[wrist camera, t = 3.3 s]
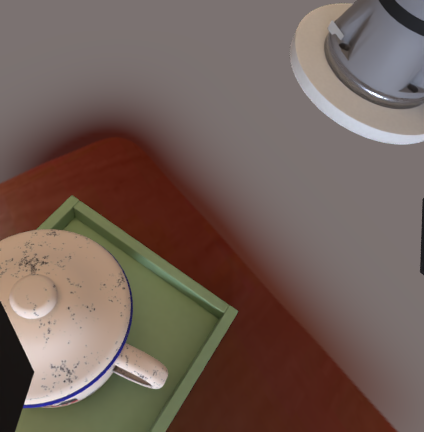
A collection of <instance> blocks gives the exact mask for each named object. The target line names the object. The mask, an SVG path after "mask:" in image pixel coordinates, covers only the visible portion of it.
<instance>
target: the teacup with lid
mask: <svg viewBox="0 0 424 432" xmlns="http://www.w3.org/2000/svg"><path fill="white" fill-rule="evenodd" d="M0 301H1V303H2V305H3V307H4V309H5V311H6V313H7V315H8V317H9V320H10V322H11V324H12V326H13V328H14V330H15V332H16V334H17V336H18V338H19V341H20V343H21V345H22V347H23V349H24V351H25V353H26V355H27V357H28V359H29V362H30V364H31V366H32V368H33V370H34V375H33V378H32V381H31V384H30V387H29V390H28V394H27V397H26V400H25V403H24V406H23V408H36V407H43V408H56V407H63V406H68V405H71V404H74V403H77V402H79V401H81V400H83V399H85V398H87V397H89V396H90V395H92V394H93V393H95V392H96V391H97V390H98V389H99V388H101V387H102V386H103V385H104V384H105V383H106V381H107V380H108V379H109V378H110V376H111V375H112V374H113V372H114V373H116V374H118V375H120V376H122V377H124V378H126V379H128V380H130V381H132V382H135V383H137V384H139V385H142V386H145V387H148V388H152V389H159V388H161V387H162V386H163V385H164V383H165V381H166V379H167V377H168V370H167V368H166V367H165V366H164V365H163V364H162V363H161V362H160V361H158V360H157V359H155V358H154V357H152V356H150V355H148V354H147V353H145V352H143V351H141V350H139V349H137V348H135V347H133V346H131V345H129V344H127V343H126V340H127V337H128V335H129V331H130V327H131V323H132V316H133V299H132V292H131V288H130V284H129V282H128V279H127V276H126V274H125V272H124V270H123V269H122V267H121V265H120V264H119V263H118V261H117V260H116V259H115V257H114V256H113V255H112V254H111V253H110V252H109V251H107V250H106V249H105V248H104V247H102V246H101V245H100V244H98V243H97V242H95V241H93V240H91V239H89V238H87V237H85V236H83V235H80V234H77V233H74V232H69V231H64V230H56V229H41V230H33V231H27V232H23V233H19V234H16V235H13V236H10V237H8V238H6V239H3V240H1V241H0Z"/></svg>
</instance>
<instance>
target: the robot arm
mask: <svg viewBox="0 0 424 432" xmlns="http://www.w3.org/2000/svg"><path fill="white" fill-rule="evenodd" d="M327 29H328V30H329V33H328V35H327V37H326V39H325V43H324V52H325V57H326V60H327V62H328V64H329V66H330V68H331V70H332V71H333V73H334V74H335V75H336V77H337V78H338V79H339V80H340V81H341V82H342V83H343V84H344V85H345V86H346V87H347V88H348V89H350V90H351V91H352V92H354V93H355V94H357V95H358V96H360V97H362V98H363V99H365V100H367V101H369V102H372V103H374V104H377V105H379V106H383V107H386V108H392V109H411V108H415V107H418V106H420V105H422V104H423V103H424V0H357V1H356V2H355V3H354V4H353V5H351V6H350V7H349V8H348V9H347V10H346V11H345V12H344V13H343V14H342V15H341V16H340V17H339V18H338V19H337V20H336V21H335V22H333V20H332V21H331V23H330V25H329V27H328V28H327ZM422 208H423V209H422V237H421V239H422V240H421V267H420V272H421V273H422V274H423V275H424V198H423V207H422ZM33 375H34V370H33V368H32V366H31V364H30V362H29V359H28V357H27V355H26V353H25V351H24V349H23V347H22V345H21V343H20V341H19V338H18V336H17V334H16V332H15V330H14V328H13V326H12V324H11V322H10V320H9V317H8V315H7V313H6V311H5V309H4V307H3V305H2V303H1V301H0V432H15V430H16V427H17V424H18V421H19V418H20V415H21V412H22V409H23V406H24V403H25V400H26V397H27V394H28V390H29V387H30V384H31V381H32V378H33Z"/></svg>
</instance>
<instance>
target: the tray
mask: <svg viewBox="0 0 424 432" xmlns="http://www.w3.org/2000/svg"><path fill="white" fill-rule="evenodd" d="M41 229H56V230H64V231H69V232H74V233H77V234H80V235H83V236H85V237H87V238H89V239H91V240H93V241H95V242H97V243H98V244H100V245H101V246H102V247H104V248H105V249H106V250H107V251H109V252H110V253H111V254H112V255H113V256H114V257H115V259H116V260H117V261H118V263H119V264H120V265H121V267H122V269H123V270H124V272H125V274H126V276H127V279H128V282H129V284H130V288H131V292H132V299H133V316H132V323H131V327H130V331H129V335H128V337H127V340H126V343H127V344H129V345H131V346H133V347H135V348H137V349H139V350H141V351H143V352H145V353H147V354H148V355H150V356H152V357H154V358H155V359H157V360H158V361H160V362H161V363H162V364H163V365H164V366H165V367H166V368H167V370H168V377H167V379H166V381H165V383H164V385H163V386H162V387H161V388H159V389H152V388H148V387H145V386H142V385H139V384H137V383H135V382H132V381H130V380H128V379H126V378H124V377H122V376H120V375H118V374H116V373H114V372H113V374H112V375H111V376H110V378H109V379H108V380H107V381H106V383H105V384H104V385H103V386H102V387H101V388H99V389H98V390H97V391H96V392H95V393H93V394H92V395H90V396H89V397H87V398H85V399H83V400H81V401H79V402H77V403H74V404H71V405H68V406H63V407H56V408H43V407H36V408H23V409H22V412H21V415H20V418H19V421H18V424H17V427H16V430H15V432H165V431H166V430H167V428H168V426H169V425H170V423H171V422H172V420H173V418H174V417H175V415H176V413H177V412H178V410H179V408H180V407H181V405H182V403H183V402H184V400H185V398H186V397H187V395H188V394H189V392H190V390H191V389H192V387H193V385H194V384H195V382H196V380H197V379H198V377H199V375H200V374H201V372H202V371H203V369H204V367H205V366H206V364H207V362H208V361H209V359H210V357H211V356H212V354H213V352H214V351H215V349H216V348H217V346H218V344H219V343H220V341H221V339H222V338H223V336H224V334H225V333H226V331H227V329H228V328H229V326H230V325H231V323H232V321H233V320H234V318H235V316H236V315H237V313H238V311H237V310H236V309H234V308H233V307H232V306H229V305H228V304H227V303H226V302H224V301H223V300H221V299H220V298H218V297H217V296H216V295H214V294H213V293H211V292H210V291H208V290H207V289H206V288H204V287H203V286H201V285H200V284H198V283H197V282H196V281H194V280H193V279H191V278H190V277H188V276H187V275H186V274H184V273H183V272H181V271H180V270H178V269H177V268H176V267H174V266H173V265H171V264H170V263H168V262H167V261H166V260H164V259H163V258H161V257H160V256H158V255H157V254H156V253H154V252H153V251H151V250H150V249H148V248H147V247H146V246H144V245H143V244H141V243H140V242H138V241H137V240H136V239H134V238H133V237H131V236H130V235H128V234H127V233H126V232H124V231H123V230H121V229H120V228H118V227H117V226H116V225H114V224H113V223H111V222H110V221H108V220H107V219H106V218H104V217H103V216H101V215H100V214H98V213H97V212H96V211H94V210H93V209H91V208H90V207H88V206H87V205H86V204H84V203H83V202H81V201H79V200H78V199H77V198H76V197H74V196H73V195H72V196H70V197H69V198H68V199H67V200H66V201H65V202H64V203H63V204H62V205H61V206H60V207H59V208H58V209H57V210H56V211H55V212H54V213H53V214H52V215H51V216H50V217H49V218H48V219H47V220H46V221H45V222H44V223H43V224H41V225H40V226H39V227H38V228H37V229H36V230H41Z"/></svg>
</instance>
